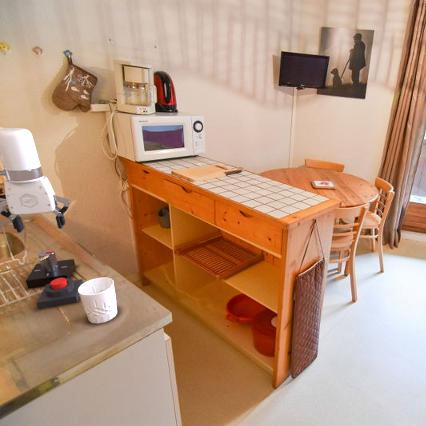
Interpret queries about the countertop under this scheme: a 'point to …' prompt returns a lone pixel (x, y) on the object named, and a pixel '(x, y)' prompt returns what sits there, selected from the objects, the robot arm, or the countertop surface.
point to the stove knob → (48, 261)
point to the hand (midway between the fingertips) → (41, 228)
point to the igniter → (60, 294)
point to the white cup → (98, 299)
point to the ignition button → (58, 283)
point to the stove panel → (50, 274)
